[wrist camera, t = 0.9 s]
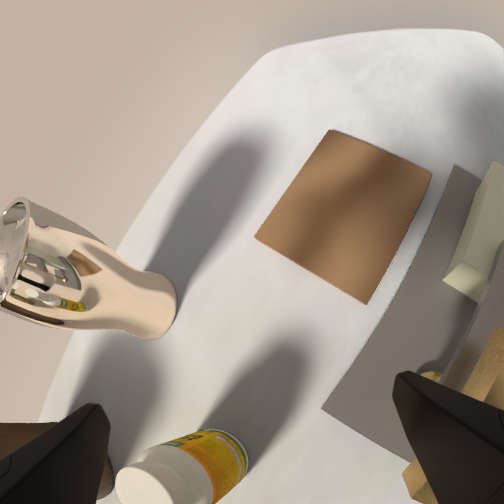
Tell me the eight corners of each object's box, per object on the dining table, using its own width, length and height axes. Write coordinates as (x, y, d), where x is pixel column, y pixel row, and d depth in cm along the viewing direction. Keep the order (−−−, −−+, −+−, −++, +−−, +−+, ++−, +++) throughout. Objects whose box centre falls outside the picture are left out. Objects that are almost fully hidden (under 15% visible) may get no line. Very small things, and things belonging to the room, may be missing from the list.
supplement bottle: (214, 494, 18) (143, 543, 9) (176, 445, 20) (92, 472, 12) (265, 466, 18) (206, 524, 9) (222, 414, 20) (142, 440, 12)
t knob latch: (500, 285, 15) (581, 228, 6) (411, 447, 14) (454, 516, 5) (470, 265, 17) (539, 194, 8) (377, 427, 15) (398, 492, 6)
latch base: (546, 234, 15) (553, 229, 14) (437, 473, 13) (441, 478, 12) (451, 172, 20) (454, 165, 19) (322, 405, 18) (320, 408, 17)
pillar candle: (68, 403, 25) (-51, 394, 12) (125, 462, 21) (-12, 486, 8) (54, 458, 23) (-47, 462, 10) (104, 513, 19) (-4, 541, 6)
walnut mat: (431, 177, 21) (432, 173, 20) (366, 305, 20) (366, 303, 19) (329, 133, 25) (329, 129, 25) (256, 239, 24) (254, 236, 24)
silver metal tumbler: (186, 338, 23) (20, 299, 10) (124, 349, 25) (-24, 318, 11) (178, 259, 26) (41, 173, 13) (120, 279, 28) (-9, 218, 14)
